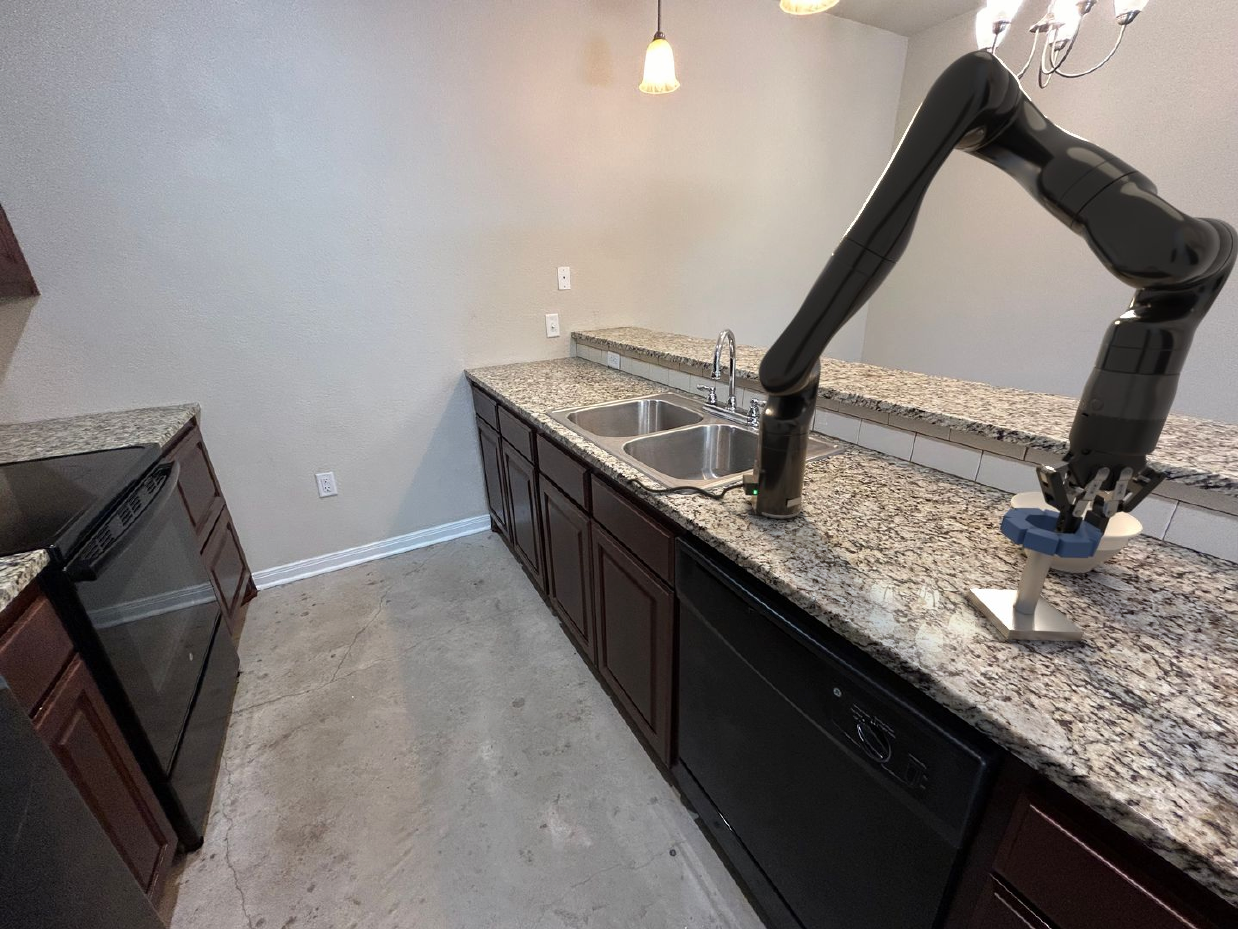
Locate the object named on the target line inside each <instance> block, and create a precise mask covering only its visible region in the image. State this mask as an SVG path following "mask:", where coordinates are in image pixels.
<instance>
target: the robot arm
mask: <svg viewBox="0 0 1238 929" xmlns="http://www.w3.org/2000/svg"><path fill="white" fill-rule="evenodd" d="M953 151H960V152H963V153H965V154H967V155H970V156H972V157H974V158H977V159H979V160H982V161H983V162H986V163H988V164H990V165H992V166H994V167H996V168H997V169H999V170H1000V171H1002V172H1004V173H1005V174H1007V175H1008V176H1009V177H1011V178H1012V179H1013V180H1014V181H1015V182H1016V183H1018V184H1019V185H1020V186H1021V188H1023V189H1024V191H1025V192H1026V193H1027V194H1028V195H1029V196H1030V197H1031V198H1032V199H1033V200H1034V201H1035V202H1036V203H1037V204H1038V205H1039V206H1040V207H1041V208H1042V209H1043V210H1045V211H1046V212H1047V213H1049V215H1051V216H1052V217H1053V218H1054V219H1055V220H1057V221H1058V222H1060V224H1062V225H1063V226H1065V227H1066V228H1067V229H1068V230H1070V231H1071V232H1072V233H1074V234H1075V235H1077V236H1078V237H1080V238H1081V239H1083V241H1084V242H1085V243H1086V245H1087V246H1088V248H1089V249H1090V251H1091V252H1092V253H1093V254H1094V256H1095V258H1097V260H1098V261H1099V262H1100V263H1101V265H1102V266H1103V267H1104V268H1105V269H1106V270H1107V271H1108V272H1109V273H1110V274H1111V275H1112V276H1113V277H1114V278H1116V279H1117V280H1118V281H1120V282H1121V283H1123V284H1125V285H1127V286H1129V287H1130V288H1133V289H1135V291H1134V293H1133V295H1132V297H1131V299H1130V302H1129V304H1128V306H1127V308H1126V310H1125V311H1124V312H1123V313H1122V314H1121V315H1119V316H1117V317H1116V318H1114V319H1113V320H1112V321H1110V323H1109V324H1108V326H1107V328H1106V330H1105V332H1104V334H1103V337H1102V340H1101V343H1100V346H1099V349H1098V351H1097V354H1096V358H1095V361H1094V364H1093V366H1092V370H1091V372H1090V374H1089V375H1088V378H1087V380H1086V382H1085V383H1084V384H1085V385H1084V387H1083V390H1082V393H1081V397H1080V399H1079V402H1078V406H1077V407H1076V408H1077V409H1076V411H1075V415H1074V418H1073V421H1072V424H1071V427H1070V430H1069V434H1068V442H1069V448H1068V450H1067V451H1066V452H1065V453H1064V454H1063V455H1062V457H1061V460H1060V461H1058V462H1056V463H1054V464H1051V465H1048V466H1047V465H1045V464H1038V466H1036V468H1035V472H1036V473H1035V474H1036V476H1037V480H1038V482H1039V486H1040V490H1041V492H1042V493H1043V496H1044V499H1045V502H1046V503H1047V504H1048V505H1051V506H1053V507H1054V508H1056V509H1057V510H1059V511H1060V514H1059V517H1058V520H1057V523H1056V526H1055V529H1054V530H1055V533H1061V534H1075V533H1076V532H1077V530H1078V529H1079V528H1080V525H1081V522H1082V519H1083V517H1081V515H1082V514H1083V513H1084V511H1085V509H1086V506H1087V504H1088V502H1089V501H1090V508H1092V510H1087V512H1086V515H1085V517H1084V521H1086V522H1088V523H1089V524H1091V525H1093V526H1094V527H1096V528H1098V529H1100V530H1101V531H1100V532H1101V533H1103V535H1104V533H1105V530H1106V528H1107V525H1108V522H1109V520H1110V517H1113V516H1114V515H1115V514H1116V513H1119V512H1122V511H1123V512H1125V513H1127V514H1129V513H1131V512H1133V510H1134V509H1135V508H1137V507H1138V506H1139V505H1140V504H1141V503H1142V502H1143V501H1144V500H1145V499H1147V497H1148V496H1149V495H1150V494H1151V493H1152V492H1153V491H1154V490H1155V489H1156V488H1157V487H1158V486H1159V485H1160V484H1161V483H1162V482H1163V481H1164V480H1166V478H1167V473H1166V472H1164V471H1161V470H1159V469H1157V468H1155V467H1151V466H1149V465H1147V463H1148V460H1147V456H1149V455H1151V454H1152V453H1154V452H1155V450H1156V448H1157V445H1158V443H1159V439H1160V437H1161V434H1162V432H1163V430H1164V427H1165V424H1166V421H1167V419H1168V417H1169V414H1170V412H1171V408H1172V406H1173V403H1174V400H1175V399H1176V396H1177V392H1178V386H1179V382H1180V377H1181V373H1182V370H1183V368H1184V366H1185V364H1186V360H1187V358H1188V356H1189V354H1190V353H1189V352H1190V350H1191V348H1192V344H1193V342H1194V338H1195V334H1196V332H1197V329H1198V328H1199V326H1200V324H1201V323H1202V322H1203V320H1204V319H1205V317H1206V316H1207V314H1208V313H1209V312H1210V310H1211V309H1212V307H1213V305H1214V303H1215V301H1216V300H1217V298H1218V297H1219V295H1220V293H1221V292H1222V290H1223V289H1224V287H1225V285H1226V283H1227V281H1228V280H1229V277H1230V276H1231V274H1232V271H1233V270H1234V267H1235V265H1236V261H1237V258H1238V232H1237V230H1236V228H1235V227H1234V226H1233V225H1232V224H1230V223H1228V222H1227V221H1225V220H1222V219H1220V218H1215V217H1198V216H1197V217H1195V216H1192V215H1189V214H1187V213H1185V212H1183V211H1182V210H1180V209H1178V208H1177V207H1175V206H1174V205H1172V204H1171V203H1170V202H1168V201H1167V200H1165V198H1162V197H1161V196H1160V195H1158V194H1159V192H1158V191H1159V190H1158V187H1157V185H1156V183H1154V182H1153V181H1152V180H1151V179H1150V178H1149V177H1148V176H1147V175H1146V174H1144V173H1142V172H1141V171H1139V170H1138V169H1136V168H1135V167H1134V166H1132V165H1130V164H1129V163H1127V162H1126V161H1124V160H1123V159H1121V158H1120V157H1118V156H1117V155H1115V154H1113V153H1112V152H1110V151H1108V150H1107V149H1105V148H1103V147H1101V146H1099V145H1098V144H1096V143H1094V142H1091V141H1089V140H1087V139H1085V138H1082V137H1080V136H1078V135H1076V134H1073V133H1070V132H1069V131H1067V130H1065V129H1063V128H1061V127H1060V126H1058V125H1056V123H1054V122H1053V121H1052V120H1050V119H1049V118H1048V117H1047V116H1045V115H1044V114H1043V113H1042V111H1041V110H1040V109H1039V108H1038V107H1037V106H1036V104H1035V103H1034V102H1033V101H1032V100H1031V98H1030V97H1029V96H1028V94H1027V93H1026V92H1025V91H1024V90H1023V88H1022V86H1021V84H1020V81H1019V79H1018V77H1017V76H1016V75H1015V74H1014V73H1013V72H1012V71H1011V70H1010V69H1009V68H1008V66H1006V64H1005V63H1003V61H1002V60H1001V59H1000V58H998V57H997V55H995V54H994V53H992V52H990V51H988V50H985V49H984V50H983V49H977V50H974V51H970V52H967V53H965V54H963V55H961V56H960V57H958V58H956V59H955V60H954V61H953V62H952V63H950V64H949V66H947V67H946V68H945V69H944V70H943V71H942V73H941V74H940V75H938V77H937V78H936V79H935V80H934V81H933V84H932V85H931V86H930V88H929V89H928V91H927V93H926V94H925V96H924V97H923V99H922V101H921V103H920V105H919V106H918V108H917V110H916V112H915V114H914V116H913V118H912V120H911V121H910V123H909V125H908V127H907V129H906V130H905V133H904V134H903V137H902V138H901V140H900V142H899V144H898V146H897V148H896V149H895V152H894V153H893V155H892V157H891V158H890V160H889V163H888V164H887V166H886V168H885V169H884V171H883V173H882V174H881V176H880V177H879V179H878V181H877V182H876V184H875V185H874V187H873V188H872V191H871V192H870V194H869V195H868V197H867V198H866V200H865V201H864V204H863V205H862V206H861V209H860V210H859V211H858V213H857V215H856V216H855V218H854V219H853V221H852V222H851V223H850V225H849V227H848V228H847V229H846V230H845V232H844V234H843V235H842V238H841V239H840V241H838V243H837V244H836V246H835V247H834V249H833V251H832V253H831V254H830V256H829V257H828V260H827V261H826V263H825V264H824V266H823V268H822V269H821V271H820V272H819V274H818V276H817V278H816V279H815V281H814V283H813V284H812V286H811V288H810V289H809V291H808V293H807V294H806V297H805V298H804V300H803V301H802V304H801V306H800V307H799V309H798V311H797V312H796V313H795V315H794V316H793V318H792V320H791V321H790V322H789V323H788V324H787V326H786V327H785V329H783V331H782V332H781V333H780V335H779V336H778V337H777V338H776V340H775V341H774V342H773V344H772V345H771V346H770V347H769V349H768V350H766V352H765V354H764V355H763V357H762V358H761V360H760V362H759V366H758V371H757V378H758V382H759V384H760V387H761V388H762V390H763V391H764V392H765V393H766V394H767V399H766V402H765V405H764V407H763V409H762V411H761V413H760V415H759V425H758V426H759V428H758V440H757V450H756V459H755V460H754V461H753V468H752V474H742V483H739V484H733V485H730V486H727V487H726V488H724V489H723V490H722V492H721V493H720V494H712V493H710V492H709V491H706V490H704V489H703V488H700V487H696V486H692V485H682V486H675V487H670V488H663V489H657V488H656V489H655V488H650V487H648V486H647V485H644V483H642V482H641V481H640V480H639V479H637V478H630V479H628V480H627V481H626V484H631V483H632V482H633V483H636V484H637V485H638V486H640V487H641V488H642V489H643V490H645V491H646V492H649V493H653V494H664V493H672V492H676V491H681V490H692V491H697V492H699V493H701V494H703V495H706V496H708V497H710V498H712V499H716V500H718V499H722V498H724V497H725V495H726V493H727V492H729V491H732V490H735V489H739V488H742V490H743V492H744V495H745V496H750V504H751V508H752V510H753V511H754V514H755V515H756V516H763V517H766V518H769V519H778V520H779V519H780V520H786V519H793V518H796V517H797V516H799V515H800V514H801V511H802V507H801V506H802V499H803V497H802V496H803V489H804V482H805V473H806V464H807V456H808V448H809V439H810V432H811V431H810V430H811V424H812V420H813V417H814V415H815V411H816V407H817V401H818V395H819V387H820V381H821V373H822V372H821V371H822V364H821V363H822V362H821V356H822V355H823V353H824V351H825V350H826V348H827V347H828V345H829V344H830V342H831V341H832V339H833V338H835V335H837V333H838V332H839V331H841V329H842V328H843V327H844V326H845V325H846V324H847V323H848V322H849V321H850V320H851V319H852V318H853V317H854V316H855V315H856V314H857V313H859V311H860V310H861V309H862V308H863V307H864V306H865V305H866V304H867V302H869V300H870V299H871V298H872V297H873V296H874V295H875V294H876V292H877V291H879V289H880V288H881V286H882V285H883V284H884V283H885V281H886V279H888V277H889V276H890V274H891V273H892V272H893V271H894V269H895V268H896V266H897V265H898V263H899V262H900V261H901V259H902V258H903V256H904V254H905V252H906V251H907V249H908V247H909V245H910V242H911V239H912V236H913V234H914V231H915V228H916V225H917V221H918V218H919V215H920V211H921V208H922V205H923V202H924V199H925V197H926V195H927V193H928V190H929V188H930V186H931V184H932V182H933V180H934V179H935V177H936V176H937V174H938V172H939V171H940V170H941V168H942V167H943V165H944V164H945V162H946V161H947V159H948V158H949V157H950V155H951V154H952V152H953ZM1130 493H1131V494H1130ZM1129 494H1130V495H1129ZM1128 495H1129V496H1128ZM1127 496H1128V497H1127ZM1126 497H1127V498H1126ZM1075 498H1076V500H1075V502H1074V504H1073V501H1074V499H1075ZM1125 498H1126V499H1125ZM1124 499H1125V500H1124ZM1103 535H1102V536H1103ZM1101 538H1102V537H1101Z"/></svg>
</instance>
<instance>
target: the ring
mask: <svg viewBox="0 0 1238 929" xmlns="http://www.w3.org/2000/svg"><path fill="white" fill-rule="evenodd" d="M1059 514H1060V513H1059V512H1055V511H1051V510H1047V509H1045V510H1044V511H1042V510H1041V509H1039V508H1014V507H1013V508H1009V509H1008V510H1007V511H1006V512H1005V514H1004V515H1003V516H1002V520H1001V523H1000V527H999V531H1000V534H1002V535H1003V536H1004V537H1006V538H1007V539H1008V540H1010V541H1011V542H1013V543H1014V544H1015V545H1021V547H1022V548H1023V549H1025V548H1027V549H1030V550H1034V551H1037V552H1040V553H1043V554H1047V555H1050V556H1054V554H1056V555H1058V556H1059V557H1061V558H1088V557H1089V556H1090V557H1093V556H1094V554H1095V552H1096V550H1097V548H1098V546H1099V543H1100V540H1101V537H1102V535H1103V533H1101V532H1100V531H1101V530H1100V529H1098V528H1096V527H1094V526H1093V525H1091V524H1089V523H1088V522H1086V521H1084V520H1083V519H1082V522H1081V525H1080V528H1079V529H1078V530H1077V532H1076V533H1075V534H1061V533H1055V530H1054V529H1055V526H1056V523H1057V520H1058V517H1059Z"/></svg>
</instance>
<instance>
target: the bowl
mask: <svg viewBox="0 0 1238 929" xmlns="http://www.w3.org/2000/svg"><path fill="white" fill-rule="evenodd" d="M1075 500H1076V498H1075V499H1074V501H1073V504H1074V502H1075ZM1010 504H1011V506H1012V508H1013V509H1014V508H1039V509H1041V510H1042V511H1044V510H1045V509H1047V510H1051V511H1055V512H1059V513H1060V511H1059V510H1057V509H1056V508H1054V507H1053V506H1051V505H1048V504H1047V503H1046V502H1045V499H1044V496H1043V493H1042V491H1026V492H1020V493H1018V494H1015V495H1013V497H1011V499H1010ZM1087 510H1092V508H1090V501H1089V502H1088V504H1087V506H1086V509H1085V511H1084V513H1083V514H1082V515H1081V517H1083V520H1084V517H1085V515H1086V512H1087ZM1143 532H1144V528H1143V524H1142V522H1140V520H1138V519H1137V518H1136V517H1134V516H1132V515H1131V514H1129V513H1125V512H1123V511H1122V512H1119V513H1116V514H1115V515H1114V516H1113V517H1110V520H1109V522H1108V525H1107V528H1106V530H1105V533H1104V535H1103V536H1102V538H1101V540H1100V543H1099V546H1098V548H1097V550H1096V552H1095V554H1094V556H1093V557H1090V556H1089V557H1088V558H1061V557H1059V556H1058V555H1056V554H1054V556H1053V559H1052V562H1051V565H1050V568H1049V569H1053V570H1057V571H1059V572H1067V573H1072V574H1084V573H1085V574H1086V573H1089V572H1091V571H1092V570H1093V568H1094V567H1097V566H1099V565H1101V564H1103V563H1105V562H1107V561H1109V560H1110V559H1112V558H1114V557H1115V556H1117V555H1119V553H1120V552H1121V551H1122V550H1123V549H1124V548H1125V547H1126V545H1127V544H1128V542H1129V539H1131V538H1136V537H1137V536H1139V535H1141V534H1142V533H1143ZM1029 551H1030V549H1027V548H1024V554H1025V555H1026V557H1028V554H1029Z"/></svg>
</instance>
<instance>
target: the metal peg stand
mask: <svg viewBox="0 0 1238 929" xmlns="http://www.w3.org/2000/svg"><path fill="white" fill-rule="evenodd" d="M1026 557H1027V558H1026V561H1025V564H1024V566H1023V567H1024V568H1023V569H1022V574H1021V577H1020V580H1019V583H1018V586H1017V589H997V588H996V589H993V588H992V589H991V588H969V589H968V594H967V599H968V600H969V601H970V602H971V603H972V604H973V605H974V606H975V607H976V609H978V611H980V612H981V613H982V615H983V616H984V617H985V618H986V619H987V620H988V621H989V622H990V623H991V624H992V625H993V626H994V627H995V628H996V629H997V630H998V631H999V633H1000V634H1001V635H1002V636H1004V638H1005V639H1006V640H1019V641H1020V640H1022V641H1049V642H1050V641H1052V642H1053V641H1055V642H1056V641H1057V642H1081V641H1082V639H1083V636H1084V634H1085V631H1084V630H1082V629H1081V628H1080V627H1079V626H1077V625H1076V623H1074V622H1073V621H1072V620H1071V619H1070V618H1068V617H1067V616H1066V615H1065V614H1063V613H1062V612H1061V611H1059V609H1058V608H1056V607H1055V606H1054V605H1053V604H1052V603H1051V602H1049V601H1048V600H1047V599H1046V598H1045V597H1044V596H1042V595H1041V594H1042V591H1043V588H1044V586H1045V582H1046V579H1047V576H1048V573H1049V570H1050V569H1051V568H1050V565H1051V562H1052V559H1053V556H1050V555H1047V554H1043V553H1040V552H1037V551H1034V550H1030V551H1029V554H1028V556H1026Z"/></svg>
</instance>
